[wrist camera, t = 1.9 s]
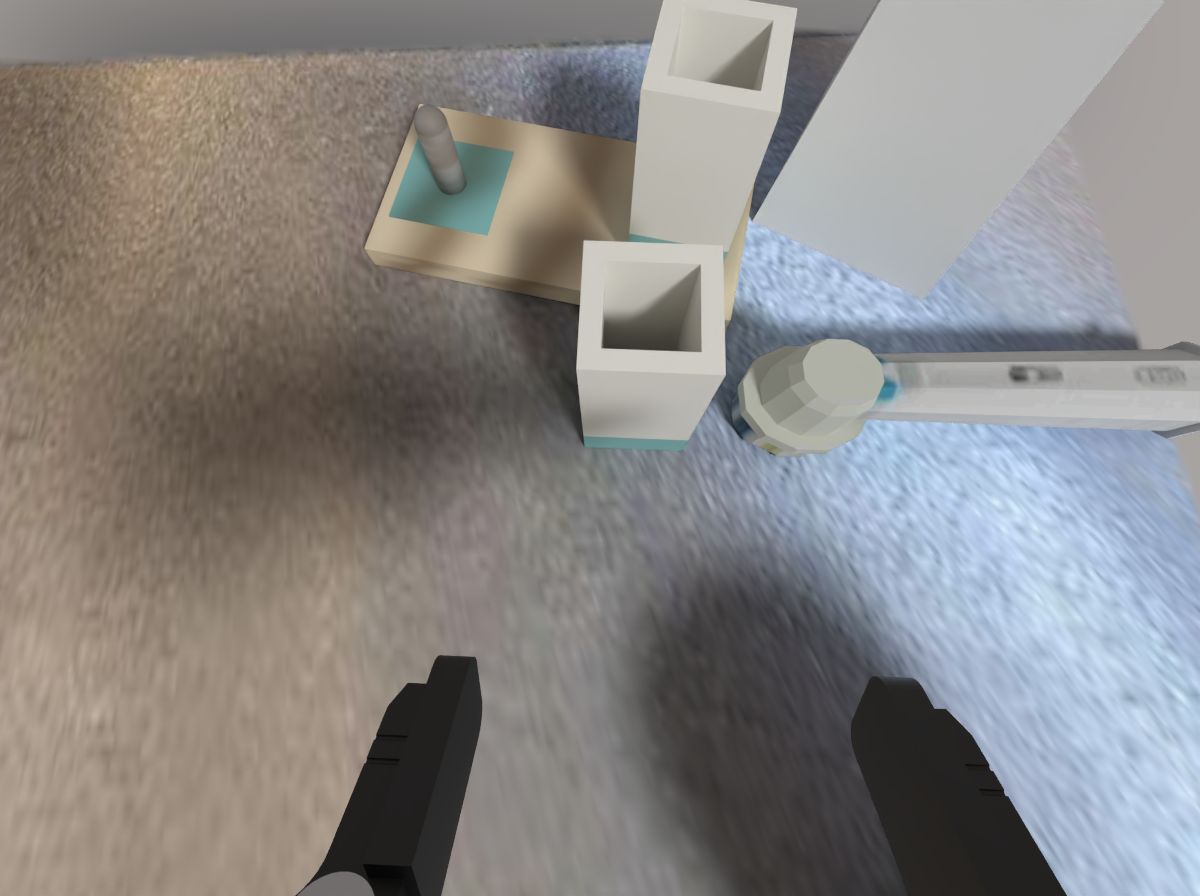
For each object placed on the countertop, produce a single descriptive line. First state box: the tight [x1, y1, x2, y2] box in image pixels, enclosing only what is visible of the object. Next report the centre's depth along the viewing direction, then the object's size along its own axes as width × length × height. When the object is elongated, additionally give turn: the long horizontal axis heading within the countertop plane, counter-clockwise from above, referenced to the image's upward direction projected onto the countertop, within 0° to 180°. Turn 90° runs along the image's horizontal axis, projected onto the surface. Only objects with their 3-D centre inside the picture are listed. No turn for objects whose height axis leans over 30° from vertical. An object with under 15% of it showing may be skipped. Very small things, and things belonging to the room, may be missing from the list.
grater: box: [752, 0, 1165, 300], centre depth 22 cm, size 10×10×20 cm
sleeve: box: [576, 240, 726, 451], centre depth 23 cm, size 5×5×10 cm
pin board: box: [364, 104, 755, 331], centre depth 28 cm, size 20×10×6 cm, turn 78°
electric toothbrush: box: [731, 339, 1200, 457], centre depth 26 cm, size 5×7×25 cm
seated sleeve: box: [629, 0, 797, 264], centre depth 24 cm, size 5×5×10 cm
